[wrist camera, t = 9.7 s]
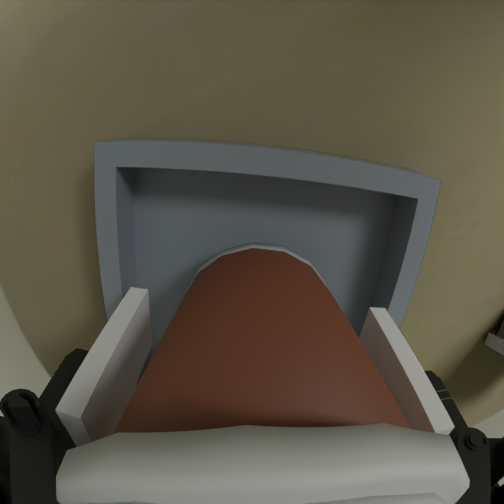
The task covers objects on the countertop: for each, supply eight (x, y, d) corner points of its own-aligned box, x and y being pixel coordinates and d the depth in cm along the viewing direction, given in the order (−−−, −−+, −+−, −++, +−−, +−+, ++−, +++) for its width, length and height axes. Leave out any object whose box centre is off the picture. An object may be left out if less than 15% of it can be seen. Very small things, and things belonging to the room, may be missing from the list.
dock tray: (119, 138, 13) (94, 141, 10) (414, 170, 13) (441, 179, 11) (135, 372, 18) (124, 399, 16) (349, 387, 18) (358, 415, 16)
